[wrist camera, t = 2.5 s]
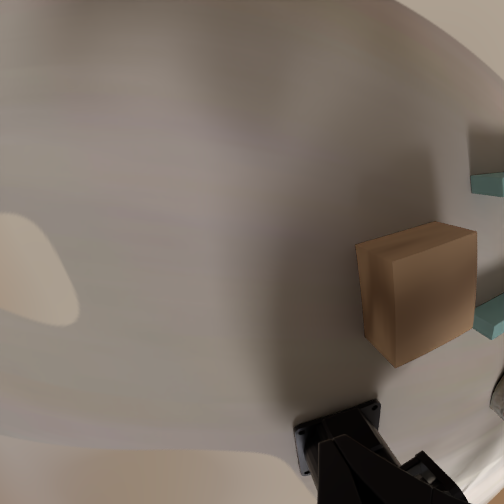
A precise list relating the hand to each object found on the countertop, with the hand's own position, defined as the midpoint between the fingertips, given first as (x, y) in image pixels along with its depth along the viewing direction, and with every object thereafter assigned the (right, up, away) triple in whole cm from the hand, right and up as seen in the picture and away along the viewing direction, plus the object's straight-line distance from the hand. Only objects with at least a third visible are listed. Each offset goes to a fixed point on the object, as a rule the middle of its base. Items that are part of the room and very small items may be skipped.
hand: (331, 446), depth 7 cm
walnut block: (+7, +4, +10) cm, 13 cm away
